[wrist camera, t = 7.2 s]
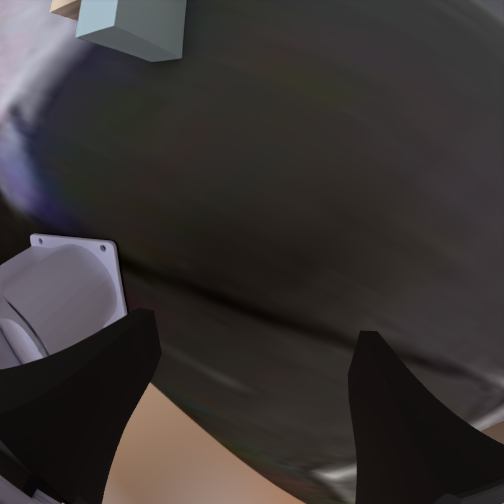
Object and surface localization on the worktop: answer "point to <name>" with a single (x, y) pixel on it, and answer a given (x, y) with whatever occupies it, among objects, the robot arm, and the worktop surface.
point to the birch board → (66, 8)
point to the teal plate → (135, 26)
